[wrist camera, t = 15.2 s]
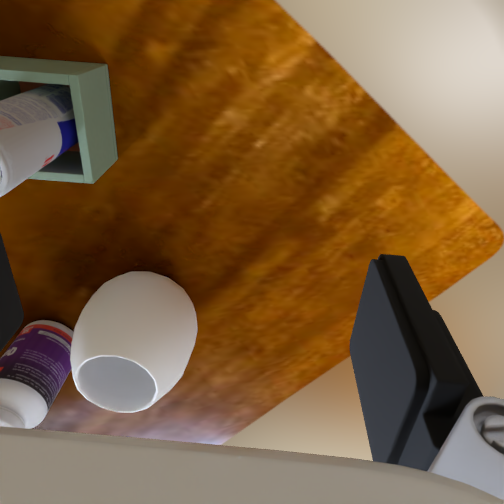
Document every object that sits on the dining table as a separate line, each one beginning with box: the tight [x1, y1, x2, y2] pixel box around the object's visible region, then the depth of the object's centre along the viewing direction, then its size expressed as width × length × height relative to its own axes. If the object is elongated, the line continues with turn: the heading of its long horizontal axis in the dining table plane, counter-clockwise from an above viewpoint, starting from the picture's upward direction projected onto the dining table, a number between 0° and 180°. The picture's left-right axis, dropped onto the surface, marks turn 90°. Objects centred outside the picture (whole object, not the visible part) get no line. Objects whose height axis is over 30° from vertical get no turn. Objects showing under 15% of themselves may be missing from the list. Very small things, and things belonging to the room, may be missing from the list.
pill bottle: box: [0, 320, 74, 429], centre depth 50 cm, size 8×8×14 cm
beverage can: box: [0, 84, 78, 197], centre depth 33 cm, size 6×6×15 cm
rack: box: [0, 56, 118, 184], centre depth 38 cm, size 17×9×7 cm, turn 86°
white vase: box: [70, 271, 198, 413], centre depth 47 cm, size 13×13×14 cm
